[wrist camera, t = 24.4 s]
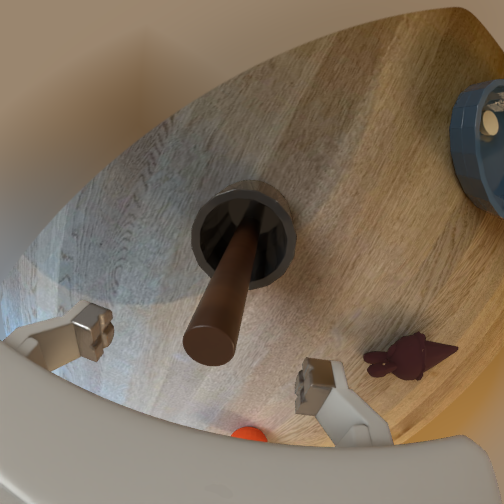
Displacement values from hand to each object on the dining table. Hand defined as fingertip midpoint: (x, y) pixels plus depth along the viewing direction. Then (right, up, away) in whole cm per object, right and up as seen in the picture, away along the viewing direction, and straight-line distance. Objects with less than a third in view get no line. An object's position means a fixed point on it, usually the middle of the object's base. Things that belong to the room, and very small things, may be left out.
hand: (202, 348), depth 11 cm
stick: (+2, +6, +20) cm, 21 cm away
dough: (+31, +20, +12) cm, 39 cm away
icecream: (+25, -9, +25) cm, 36 cm away
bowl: (+34, +18, +14) cm, 40 cm away
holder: (+2, +7, +20) cm, 22 cm away
